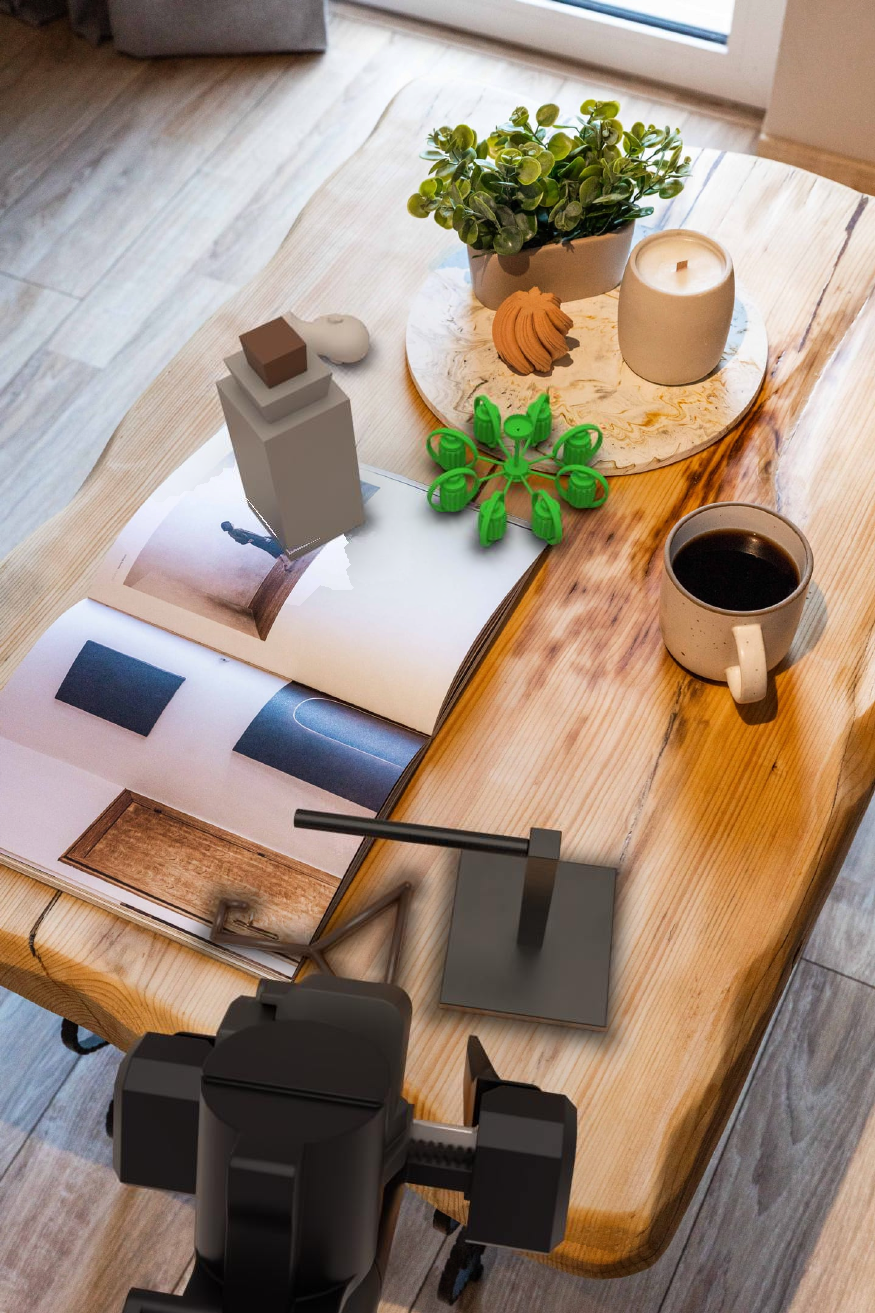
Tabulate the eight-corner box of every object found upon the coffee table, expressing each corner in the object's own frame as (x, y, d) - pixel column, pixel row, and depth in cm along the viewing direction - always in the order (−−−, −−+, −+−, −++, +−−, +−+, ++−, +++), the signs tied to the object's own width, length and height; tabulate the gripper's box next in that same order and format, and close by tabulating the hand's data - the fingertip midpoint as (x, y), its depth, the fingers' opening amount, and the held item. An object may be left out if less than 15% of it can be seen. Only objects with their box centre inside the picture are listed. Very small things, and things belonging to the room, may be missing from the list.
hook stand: (604, 1032, 66) (639, 954, 53) (310, 989, 68) (271, 903, 55) (614, 874, 72) (649, 766, 58) (341, 838, 73) (313, 725, 60)
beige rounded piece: (376, 351, 98) (363, 378, 95) (288, 340, 99) (272, 365, 95) (376, 305, 96) (363, 330, 92) (286, 293, 96) (270, 318, 93)
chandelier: (557, 394, 94) (563, 331, 88) (643, 522, 86) (656, 462, 80) (392, 450, 91) (387, 389, 85) (468, 587, 84) (467, 530, 78)
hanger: (382, 1053, 65) (184, 1020, 67) (383, 1056, 66) (187, 1024, 67) (413, 879, 71) (230, 852, 72) (414, 884, 72) (232, 857, 73)
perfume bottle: (365, 522, 87) (343, 348, 72) (291, 562, 85) (252, 392, 70) (320, 468, 90) (290, 290, 75) (248, 506, 88) (202, 331, 73)
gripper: (598, 1119, 36) (591, 903, 51) (44, 1034, 38) (197, 850, 53) (558, 1398, 38) (563, 1114, 54) (44, 1306, 40) (189, 1056, 55)
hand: (377, 1029), depth 54 cm, fingers open, 9 cm apart
